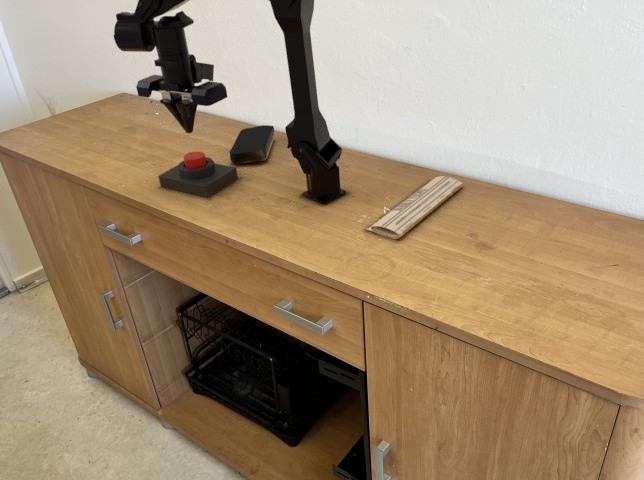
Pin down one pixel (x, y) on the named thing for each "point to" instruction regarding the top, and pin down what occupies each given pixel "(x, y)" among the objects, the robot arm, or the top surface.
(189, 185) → the grey button base
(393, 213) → the newspaper
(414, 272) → the top surface
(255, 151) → the black sponge
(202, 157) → the power button
